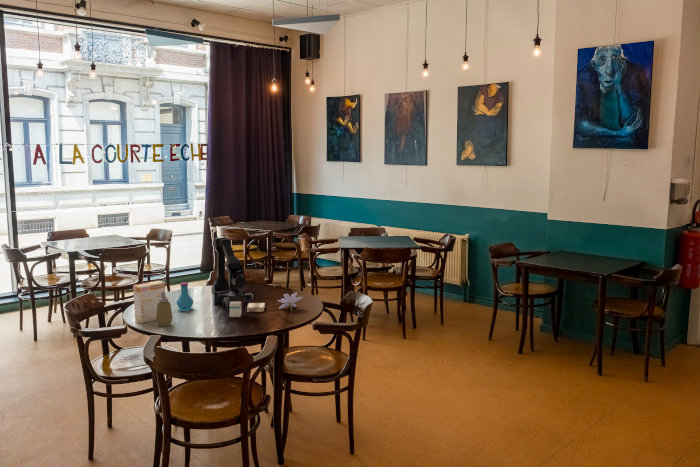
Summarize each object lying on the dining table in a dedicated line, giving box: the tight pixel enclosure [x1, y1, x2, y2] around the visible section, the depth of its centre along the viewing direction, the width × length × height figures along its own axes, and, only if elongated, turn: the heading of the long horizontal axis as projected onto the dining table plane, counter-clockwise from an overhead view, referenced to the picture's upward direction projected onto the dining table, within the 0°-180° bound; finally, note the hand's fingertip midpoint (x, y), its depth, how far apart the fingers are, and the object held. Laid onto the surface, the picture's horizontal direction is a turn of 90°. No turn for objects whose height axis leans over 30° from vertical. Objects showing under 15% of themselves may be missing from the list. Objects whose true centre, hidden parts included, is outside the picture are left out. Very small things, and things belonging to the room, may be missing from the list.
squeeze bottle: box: [155, 291, 173, 328], centre depth 309 cm, size 8×8×18 cm
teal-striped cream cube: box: [228, 301, 243, 318], centre depth 328 cm, size 6×6×7 cm
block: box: [246, 302, 266, 313], centre depth 340 cm, size 9×9×3 cm
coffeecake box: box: [132, 280, 166, 324], centre depth 321 cm, size 15×7×20 cm, turn 134°
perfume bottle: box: [175, 282, 194, 312], centre depth 341 cm, size 9×9×15 cm
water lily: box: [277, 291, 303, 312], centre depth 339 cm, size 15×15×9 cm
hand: (235, 312), depth 328 cm, fingers open, 9 cm apart
